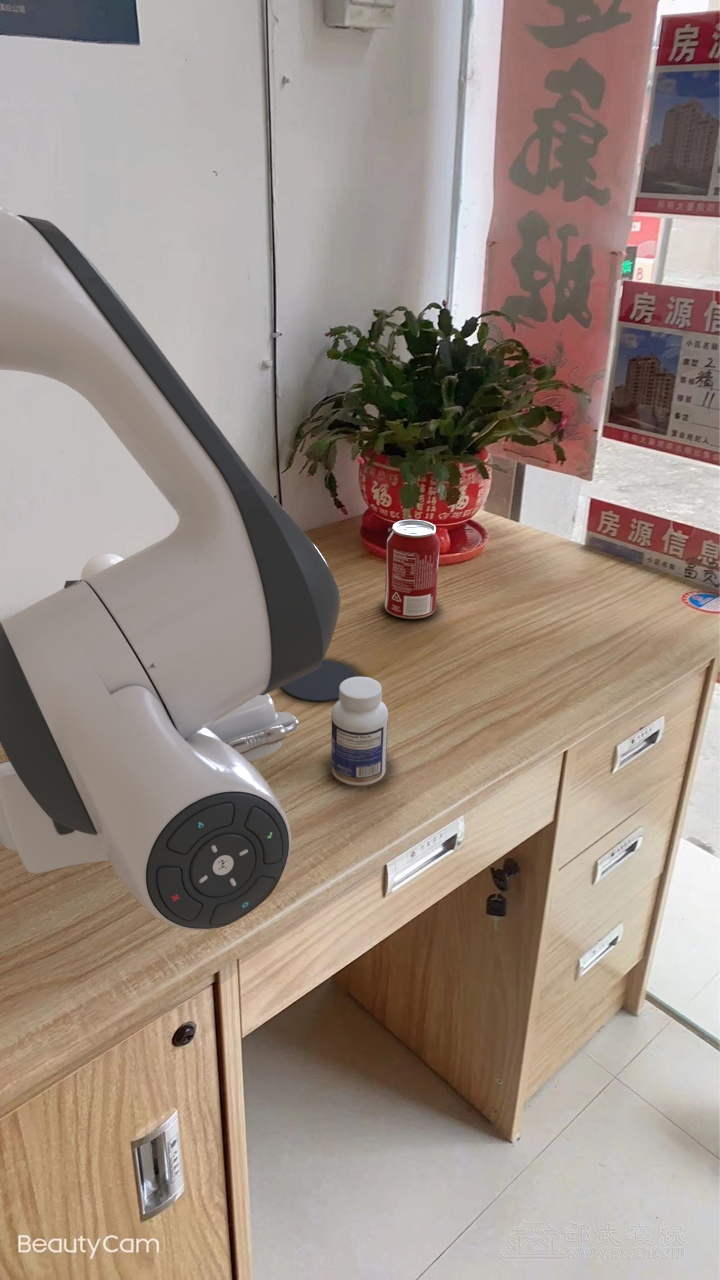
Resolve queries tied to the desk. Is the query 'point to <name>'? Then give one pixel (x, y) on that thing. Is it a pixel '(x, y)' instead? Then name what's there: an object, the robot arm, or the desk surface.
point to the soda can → (412, 569)
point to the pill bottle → (359, 732)
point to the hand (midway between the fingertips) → (119, 733)
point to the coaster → (320, 682)
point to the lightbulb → (99, 564)
